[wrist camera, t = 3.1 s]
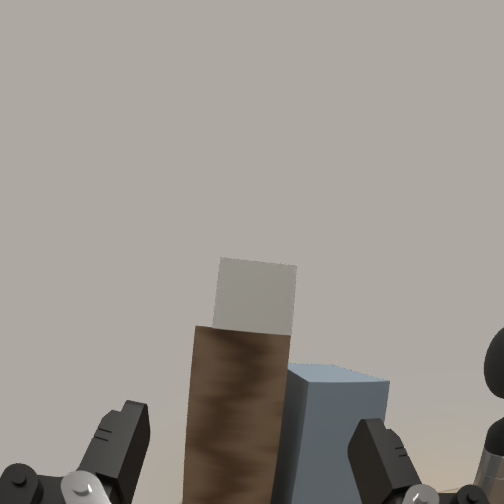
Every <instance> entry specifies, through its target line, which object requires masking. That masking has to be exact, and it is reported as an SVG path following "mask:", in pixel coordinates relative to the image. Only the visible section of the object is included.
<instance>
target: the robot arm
mask: <svg viewBox="0 0 504 504" xmlns="http://www.w3.org/2000/svg"><path fill="white" fill-rule="evenodd" d="M484 376H485V381H486V383H487V386H488V387H489V389H490V391H491V392H492V393H493V394H494V395H496V396H497V397H500V398H503V399H504V328H502V329H501V330H500V331H499V332H498V333H497V334H496V335H495V337H494V338H493V340H492V341H491V343H490V346H489V348H488V350H487V354H486V357H485V362H484ZM149 441H150V424H149V415H148V406H147V404H144V403H139V402H135V401H130V400H127V401H126V402H125V404H124V406H123V408H122V410H121V412H119V411H114V410H111V411H110V412H109V413H108V414H106V415H105V416H104V417H103V418H102V420H101V422H100V424H99V426H98V429H97V430H96V432H95V434H94V438H92V440H91V442H90V444H89V446H88V448H87V451H86V453H85V455H84V457H83V459H82V461H81V463H80V466H79V467H78V469H77V470H76V471H74V472H70V473H69V474H67V475H66V476H64V477H52V476H43V475H37V474H36V473H35V471H34V470H33V469H32V468H31V467H29V466H27V465H25V464H21V463H16V464H12V465H10V466H8V467H7V468H6V469H5V470H4V472H3V474H2V475H1V478H0V504H131V503H132V499H133V496H134V492H135V489H136V485H137V482H138V478H139V475H140V472H141V468H142V465H143V461H144V458H145V455H146V451H147V448H148V445H149ZM347 454H348V459H349V462H350V465H351V469H352V472H353V475H354V478H355V482H356V485H357V488H358V492H359V495H360V498H361V502H362V504H504V417H503V418H502V419H500V420H498V421H496V422H495V423H494V424H493V425H491V427H490V428H489V430H488V433H487V436H486V440H485V444H484V449H483V452H482V456H481V460H480V463H479V467H478V470H477V474H476V477H475V480H474V483H473V485H465V486H463V487H462V488H461V489H460V490H459V491H458V492H457V493H437V492H436V490H435V489H433V488H432V487H430V486H428V485H425V484H422V483H421V481H420V479H419V476H418V475H417V472H416V470H415V468H414V466H413V464H412V462H411V460H410V458H409V456H408V455H407V452H406V449H405V448H404V446H403V443H402V441H401V439H400V437H399V436H398V435H397V434H396V433H395V432H393V431H392V430H391V429H386V428H385V426H384V424H383V421H382V420H381V419H380V418H371V419H361V420H360V421H359V423H358V425H357V427H356V429H355V431H354V434H353V436H352V438H351V440H350V442H349V444H348V449H347Z"/></svg>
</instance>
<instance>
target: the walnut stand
mask: <svg viewBox="0 0 504 504" xmlns="http://www.w3.org/2000/svg"><path fill="white" fill-rule="evenodd" d="M290 338H291V335H278V334H266V333H255V332H245V331H235V330H225V329H216V328H212V327H204V326H196V327H195V336H194V346H193V356H192V367H191V377H190V389H189V402H188V415H187V428H186V443H185V460H184V482H183V504H270V501H271V495H272V488H273V482H274V475H275V468H276V461H277V454H278V446H279V438H280V431H281V423H282V414H283V406H284V397H285V388H286V379H287V369H288V359H289V349H290Z"/></svg>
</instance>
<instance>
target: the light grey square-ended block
mask: <svg viewBox="0 0 504 504" xmlns="http://www.w3.org/2000/svg"><path fill="white" fill-rule="evenodd" d="M296 270H297V266H294V265H284V264H276V263H266V262H258V261H248V260H239V259H231V258H222V257H221V258H220V264H219V272H218V281H217V289H216V298H215V307H214V317H213V327H212V328H216V329H225V330H235V331H245V332H255V333H266V334H278V335H291V334H292V333H291V332H292V322H293V310H294V298H295V284H296Z"/></svg>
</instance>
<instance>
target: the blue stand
mask: <svg viewBox="0 0 504 504" xmlns="http://www.w3.org/2000/svg"><path fill="white" fill-rule="evenodd" d="M389 384H390V381H387V380H384V379H380V378H377V377H373V376H369V375H365V374H362V373H359V372H355V371H352V370H348V369H345V368H341V367H338V366H335V365H320V364H319V365H318V364H296V363H288V369H287V379H286V388H285V397H284V406H283V414H282V423H281V431H280V438H279V446H278V454H277V461H276V468H275V475H274V482H273V488H272V495H271V501H270V504H362V502H361V498H360V495H359V492H358V488H357V485H356V482H355V478H354V475H353V472H352V469H351V465H350V462H349V459H348V454H347V449H348V444H349V442H350V440H351V438H352V436H353V434H354V431H355V429H356V427H357V425H358V423H359V421H360V420H361V419H371V418H380V419H381V420H382V421H383V424H384V420H385V413H386V407H387V399H388V392H389Z"/></svg>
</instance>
